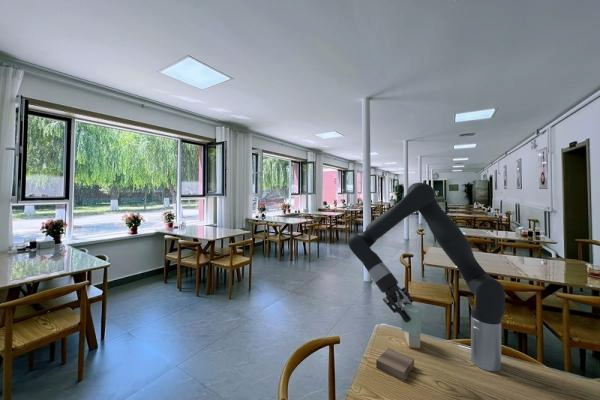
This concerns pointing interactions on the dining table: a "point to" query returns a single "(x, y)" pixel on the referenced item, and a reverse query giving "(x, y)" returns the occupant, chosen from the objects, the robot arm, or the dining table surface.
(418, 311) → the sage block
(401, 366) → the walnut plinth
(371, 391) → the dining table surface
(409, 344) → the supplement box
